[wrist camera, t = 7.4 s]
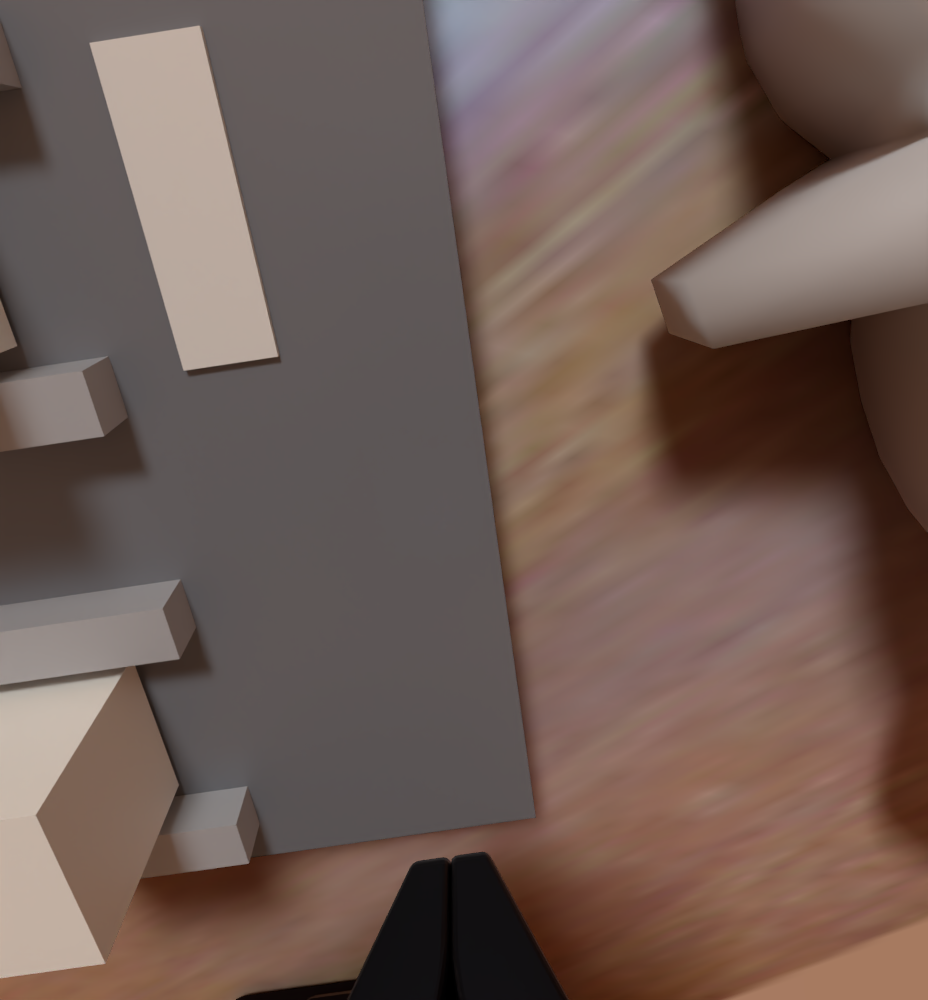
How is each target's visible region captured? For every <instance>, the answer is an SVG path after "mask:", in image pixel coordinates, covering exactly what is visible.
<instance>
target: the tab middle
mask: <svg viewBox="0 0 928 1000" xmlns="http://www.w3.org/2000/svg"><path fill="white" fill-rule="evenodd" d="M16 346H17V344H16V341H15V338H14V335H13V333H12V330H11V327H10V325H9V322H8V319H7V316H6V314H5V311H4V308H3V306H2V303H1V300H0V353H1V352H4V351H6V350H9V349H11V348H14V347H16Z"/></svg>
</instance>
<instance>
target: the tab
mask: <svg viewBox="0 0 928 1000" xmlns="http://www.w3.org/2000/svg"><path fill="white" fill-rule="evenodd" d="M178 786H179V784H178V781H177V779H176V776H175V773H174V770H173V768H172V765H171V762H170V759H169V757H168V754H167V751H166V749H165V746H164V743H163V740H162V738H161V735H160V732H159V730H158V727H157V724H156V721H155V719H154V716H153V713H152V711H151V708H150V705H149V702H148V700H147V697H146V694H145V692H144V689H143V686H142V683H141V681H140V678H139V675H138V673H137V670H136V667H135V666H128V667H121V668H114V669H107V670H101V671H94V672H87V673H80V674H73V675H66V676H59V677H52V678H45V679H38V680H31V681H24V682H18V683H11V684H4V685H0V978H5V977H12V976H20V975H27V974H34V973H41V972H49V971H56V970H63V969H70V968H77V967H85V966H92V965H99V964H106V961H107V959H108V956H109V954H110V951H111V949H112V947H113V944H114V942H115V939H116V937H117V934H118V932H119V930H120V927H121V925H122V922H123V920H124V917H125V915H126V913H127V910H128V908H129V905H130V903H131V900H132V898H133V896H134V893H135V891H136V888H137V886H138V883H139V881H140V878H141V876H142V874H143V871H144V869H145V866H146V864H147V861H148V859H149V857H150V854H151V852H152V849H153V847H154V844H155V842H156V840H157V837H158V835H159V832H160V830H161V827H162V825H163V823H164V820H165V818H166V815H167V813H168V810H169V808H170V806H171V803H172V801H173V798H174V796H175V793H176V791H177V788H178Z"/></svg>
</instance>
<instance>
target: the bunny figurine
mask: <svg viewBox="0 0 928 1000" xmlns="http://www.w3.org/2000/svg"><path fill="white" fill-rule="evenodd" d="M735 5H736V13H737V20H738V27H739V32H740V36H741V41H742V45H743V49H744V53H745V57H746V61H747V63H748V65H749V67H750V68H751V70H752V72H753V73H754V75H755V77H756V79H757V80H758V82H759V84H760V85H761V87H762V89H763V91H764V92H765V94H766V96H767V98H768V99H769V101H770V103H771V104H772V106H773V108H774V110H775V111H776V113H777V115H778V116H779V117H780V119H781V120H782V121H783V122H784V123H785V124H786V125H787V126H789V127H790V128H791V129H793V130H794V131H795V132H796V133H798V134H799V135H800V136H802V137H803V138H804V139H805V140H807V141H808V142H809V143H811V144H812V145H813V146H814V147H816V148H817V149H818V150H820V151H821V152H822V153H823V154H825V155H826V156H827V157H828V158H830V160H828V161H826V162H825V163H823V164H822V165H820V166H818V167H817V168H815V169H814V170H812V171H811V172H809V173H807V174H806V175H804V176H803V177H801V178H799V179H798V180H796V181H795V182H793V183H791V184H790V185H788V186H787V187H785V188H783V189H782V190H780V191H779V192H777V193H776V194H775V195H773V196H772V197H770V198H769V199H767V200H766V201H764V202H763V203H762V204H760V205H759V206H757V207H756V208H754V209H753V210H751V211H750V212H749V213H747V214H746V215H744V216H743V217H741V218H740V219H738V220H737V221H735V222H734V223H733V224H731V225H730V226H728V227H727V228H725V229H724V230H722V231H721V232H720V233H718V234H717V235H715V236H714V237H712V238H711V239H709V240H708V241H707V242H705V243H704V244H702V245H701V246H699V247H698V248H696V249H695V250H694V251H692V252H691V253H689V254H688V255H686V256H685V257H683V258H682V259H680V260H679V261H678V262H676V263H675V264H673V265H672V266H670V267H669V268H667V269H666V270H665V271H663V272H662V273H660V274H659V275H657V276H656V277H654V278H653V279H652V280H651V281H652V284H653V287H654V290H655V293H656V296H657V299H658V302H659V305H660V308H661V311H662V314H663V317H664V320H665V323H666V326H667V329H668V333H669V334H672V335H675V336H678V337H681V338H684V339H686V340H689V341H692V342H695V343H698V344H701V345H704V346H707V347H710V348H713V349H715V348H720V347H724V346H729V345H734V344H738V343H743V342H748V341H752V340H757V339H762V338H766V337H771V336H776V335H780V334H785V333H790V332H794V331H799V330H804V329H808V328H813V327H818V326H823V325H827V324H832V323H837V322H841V321H846V320H851V319H852V321H851V333H850V345H851V350H852V355H853V361H854V366H855V372H856V377H857V382H858V388H859V393H860V398H861V403H862V406H863V409H864V412H865V415H866V418H867V421H868V424H869V427H870V430H871V433H872V436H873V439H874V442H875V445H876V448H877V451H878V454H879V457H880V459H881V461H882V463H883V465H884V466H885V468H886V470H887V472H888V474H889V475H890V477H891V479H892V481H893V483H894V485H895V486H896V488H897V490H898V492H899V494H900V496H901V497H902V499H903V501H904V503H905V505H906V506H907V508H908V510H909V511H910V512H911V513H912V515H913V516H914V517H915V518H916V520H917V521H918V522H919V523H920V524H921V526H922V527H923V528H924V529H925V530H926V532H927V533H928V0H735Z"/></svg>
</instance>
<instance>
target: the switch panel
mask: <svg viewBox="0 0 928 1000" xmlns="http://www.w3.org/2000/svg"><path fill="white" fill-rule="evenodd" d="M0 300H1V303H2V306H3V308H4V311H5V314H6V316H7V319H8V322H9V325H10V327H11V330H12V333H13V335H14V338H15V341H16V344H17V346H16V347H14V348H11V349H9V350H6V351H4V352H1V353H0V685H4V684H11V683H18V682H24V681H31V680H38V679H45V678H52V677H59V676H66V675H73V674H80V673H87V672H94V671H101V670H107V669H114V668H121V667H128V666H135V667H136V670H137V673H138V675H139V678H140V681H141V683H142V686H143V689H144V692H145V694H146V697H147V700H148V702H149V705H150V708H151V711H152V713H153V716H154V719H155V721H156V724H157V727H158V730H159V732H160V735H161V738H162V740H163V743H164V746H165V749H166V751H167V754H168V757H169V759H170V762H171V765H172V768H173V770H174V773H175V776H176V779H177V781H178V784H179V786H178V788H177V791H176V793H175V796H174V798H173V801H172V803H171V806H170V808H169V810H168V813H167V815H166V818H165V820H164V823H163V825H162V827H161V830H160V832H159V835H158V837H157V840H156V842H155V844H154V847H153V849H152V852H151V854H150V857H149V859H148V861H147V864H146V866H145V869H144V871H143V874H142V876H141V878H140V879H143V878H150V877H157V876H164V875H171V874H178V873H185V872H193V871H200V870H207V869H214V868H221V867H228V866H235V865H243V864H249V862H250V858H252V857H259V856H266V855H273V854H280V853H287V852H294V851H301V850H309V849H316V848H323V847H330V846H337V845H344V844H351V843H358V842H366V841H373V840H380V839H387V838H394V837H401V836H408V835H416V834H423V833H430V832H437V831H444V830H451V829H458V828H465V827H473V826H480V825H487V824H494V823H501V822H508V821H515V820H522V819H530V818H536V816H535V809H534V801H533V794H532V787H531V780H530V773H529V765H528V758H527V751H526V744H525V736H524V729H523V722H522V715H521V707H520V700H519V693H518V686H517V679H516V671H515V664H514V657H513V650H512V642H511V635H510V628H509V621H508V614H507V606H506V599H505V592H504V585H503V577H502V570H501V563H500V556H499V549H498V541H497V534H496V527H495V520H494V512H493V505H492V498H491V491H490V484H489V476H488V469H487V462H486V455H485V447H484V440H483V433H482V426H481V419H480V411H479V404H478V397H477V390H476V382H475V375H474V368H473V361H472V353H471V346H470V339H469V332H468V325H467V317H466V310H465V303H464V296H463V288H462V281H461V274H460V267H459V260H458V252H457V245H456V238H455V231H454V223H453V216H452V209H451V202H450V195H449V187H448V180H447V173H446V166H445V158H444V151H443V144H442V137H441V130H440V122H439V115H438V108H437V101H436V93H435V86H434V79H433V72H432V64H431V57H430V50H429V43H428V36H427V28H426V21H425V14H424V7H423V0H0Z"/></svg>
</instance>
